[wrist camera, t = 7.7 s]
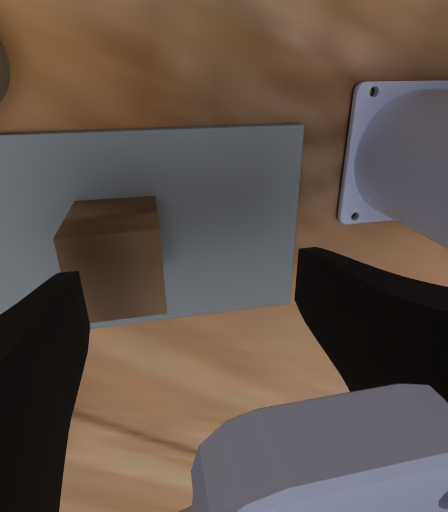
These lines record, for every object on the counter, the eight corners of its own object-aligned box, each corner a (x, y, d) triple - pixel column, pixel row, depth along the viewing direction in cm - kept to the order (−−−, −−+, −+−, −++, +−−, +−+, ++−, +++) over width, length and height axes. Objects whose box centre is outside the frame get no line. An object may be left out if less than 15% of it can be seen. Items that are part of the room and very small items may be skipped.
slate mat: (296, 123, 20) (304, 124, 19) (284, 295, 24) (290, 303, 24) (-75, 135, 17) (-87, 138, 16) (-6, 331, 21) (-13, 341, 20)
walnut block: (155, 195, 19) (159, 229, 14) (161, 264, 21) (167, 313, 16) (74, 200, 18) (52, 238, 14) (88, 271, 20) (72, 325, 15)
